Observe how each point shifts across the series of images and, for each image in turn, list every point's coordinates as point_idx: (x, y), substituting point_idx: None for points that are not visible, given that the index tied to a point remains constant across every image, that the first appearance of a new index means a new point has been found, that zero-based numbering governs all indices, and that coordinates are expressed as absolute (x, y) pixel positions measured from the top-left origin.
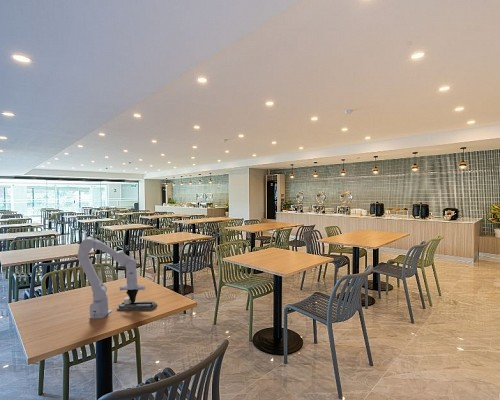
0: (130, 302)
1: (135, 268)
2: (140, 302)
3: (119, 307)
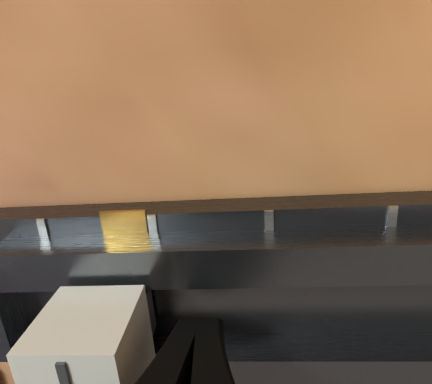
0: (150, 337)
1: None
2: (315, 286)
3: None
